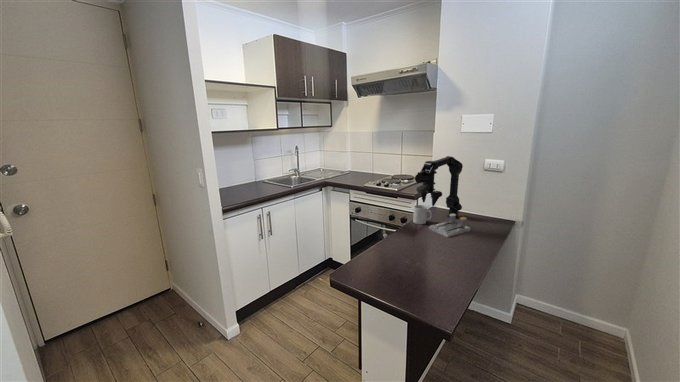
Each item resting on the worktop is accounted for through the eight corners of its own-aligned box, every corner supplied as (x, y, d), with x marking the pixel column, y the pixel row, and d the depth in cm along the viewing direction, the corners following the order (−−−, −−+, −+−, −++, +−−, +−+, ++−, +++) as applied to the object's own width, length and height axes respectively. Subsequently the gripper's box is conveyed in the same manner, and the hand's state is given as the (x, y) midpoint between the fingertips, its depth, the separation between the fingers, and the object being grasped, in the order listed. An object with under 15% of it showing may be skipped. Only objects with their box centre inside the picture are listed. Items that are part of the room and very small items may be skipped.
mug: (411, 223, 189) (412, 207, 186) (414, 219, 196) (415, 204, 193) (429, 225, 183) (430, 210, 181) (432, 221, 190) (433, 206, 188)
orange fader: (462, 224, 177) (463, 216, 176) (465, 226, 175) (466, 217, 173) (458, 225, 175) (459, 217, 174) (462, 227, 173) (462, 218, 172)
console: (450, 223, 187) (451, 218, 186) (470, 230, 174) (470, 225, 173) (428, 229, 178) (429, 224, 177) (447, 237, 165) (447, 232, 164)
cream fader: (452, 221, 184) (453, 213, 182) (455, 222, 182) (456, 214, 180) (448, 222, 182) (449, 214, 181) (451, 223, 180) (452, 215, 179)
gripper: (410, 179, 184) (409, 202, 188) (428, 185, 167) (427, 209, 171) (423, 177, 188) (423, 199, 192) (443, 183, 171) (442, 207, 175)
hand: (428, 204), depth 183 cm, fingers open, 9 cm apart
